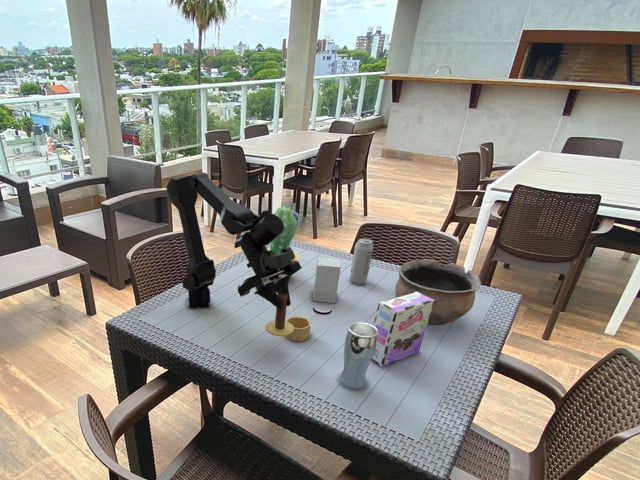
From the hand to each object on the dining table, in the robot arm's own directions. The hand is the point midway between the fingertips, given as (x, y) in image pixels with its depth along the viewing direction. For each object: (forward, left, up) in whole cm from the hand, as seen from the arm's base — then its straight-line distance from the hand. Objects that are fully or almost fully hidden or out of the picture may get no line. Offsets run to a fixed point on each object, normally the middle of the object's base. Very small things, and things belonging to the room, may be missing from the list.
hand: (285, 307), depth 111 cm
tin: (+6, +8, -13) cm, 17 cm away
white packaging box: (+21, +30, -14) cm, 39 cm away
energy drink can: (+37, +41, -14) cm, 57 cm away
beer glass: (+14, -15, -14) cm, 25 cm away
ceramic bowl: (+48, +13, -14) cm, 52 cm away
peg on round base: (-1, +1, -7) cm, 7 cm away
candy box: (+29, -5, -14) cm, 33 cm away
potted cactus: (+9, +48, -14) cm, 51 cm away
